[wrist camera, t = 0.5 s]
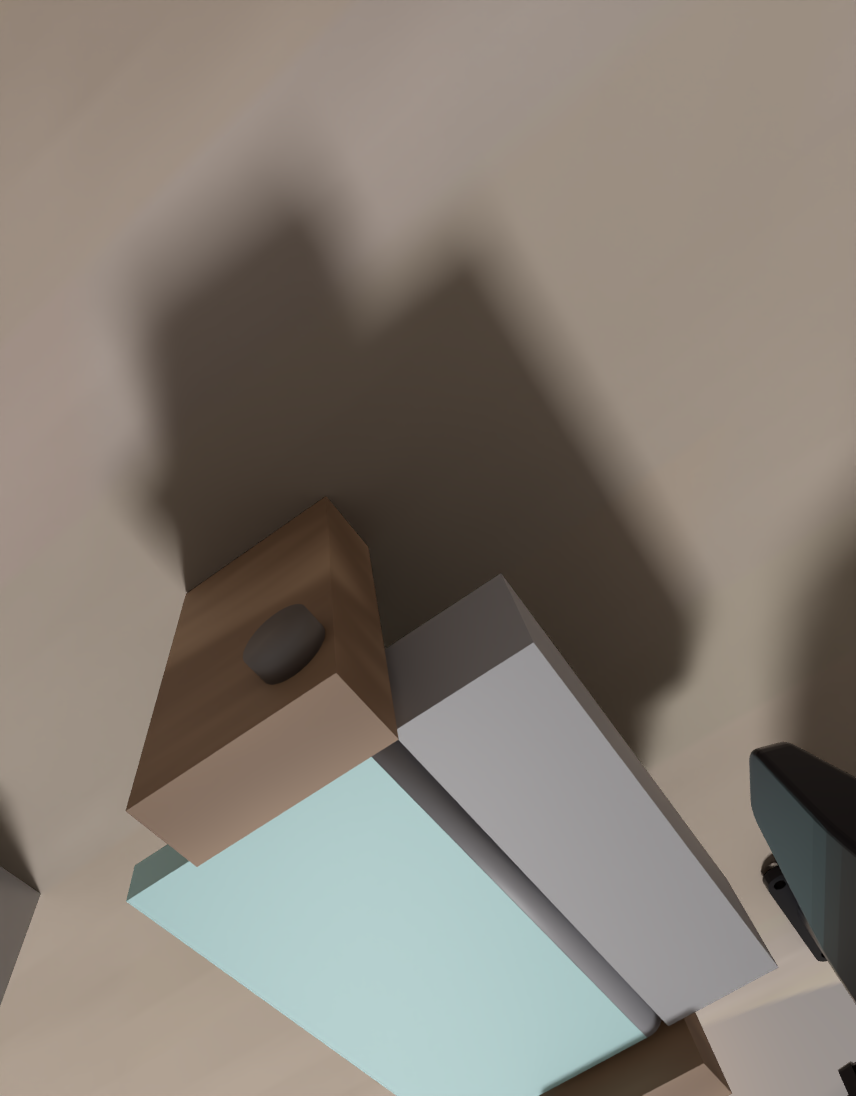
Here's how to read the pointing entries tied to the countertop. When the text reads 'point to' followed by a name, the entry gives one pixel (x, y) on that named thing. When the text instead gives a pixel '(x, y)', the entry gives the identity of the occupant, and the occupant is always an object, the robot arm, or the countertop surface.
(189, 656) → the trapdoor frame
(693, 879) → the trapdoor
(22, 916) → the grey cube
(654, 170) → the countertop surface
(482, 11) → the countertop surface
